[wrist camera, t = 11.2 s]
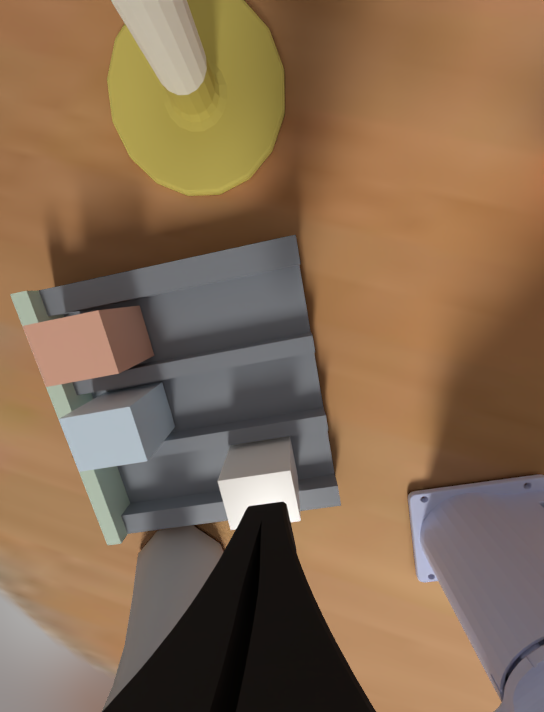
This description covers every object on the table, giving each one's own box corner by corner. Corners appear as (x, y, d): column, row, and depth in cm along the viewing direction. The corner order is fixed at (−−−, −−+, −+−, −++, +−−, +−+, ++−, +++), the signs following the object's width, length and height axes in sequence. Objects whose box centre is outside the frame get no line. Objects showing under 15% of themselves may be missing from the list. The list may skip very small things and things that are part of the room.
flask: (124, 547, 24) (12, 728, 14) (194, 508, 22) (124, 675, 13) (178, 606, 25) (108, 811, 15) (246, 572, 24) (220, 770, 14)
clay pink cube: (139, 305, 18) (98, 310, 14) (154, 355, 18) (119, 373, 14) (79, 317, 18) (22, 325, 14) (96, 366, 19) (46, 387, 15)
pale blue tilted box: (162, 382, 19) (129, 406, 15) (175, 426, 19) (147, 461, 15) (104, 392, 19) (58, 419, 15) (120, 435, 20) (79, 471, 16)
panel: (294, 241, 18) (296, 231, 14) (334, 481, 21) (343, 514, 18) (55, 293, 19) (10, 294, 16) (132, 509, 23) (107, 545, 20)
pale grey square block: (289, 433, 19) (290, 470, 15) (297, 475, 20) (300, 521, 16) (231, 442, 19) (217, 481, 16) (241, 483, 20) (230, 529, 16)
